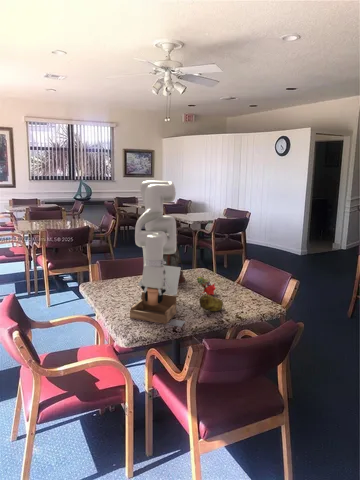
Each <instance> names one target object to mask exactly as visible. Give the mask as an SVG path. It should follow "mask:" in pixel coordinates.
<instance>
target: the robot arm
mask: <svg viewBox="0 0 360 480" xmlns="http://www.w3.org/2000/svg"><path fill="white" fill-rule="evenodd" d="M139 191H140V196H141V199H142V202H143V205H144V212H143V213H142V214H141V215H140V216H139V218H138V219H137V221H136V224H135V227H134V228H135V229H134V230H135V231H134V241H135V245H136V246H137V247H139V248H142V254H143V255H142V256H143V270H142V278H141V280H140V281H139V282H138V283H137V285H138V286H139V287H140V289H141V290H142V291H141V292H144V293H145V301H148V291H147V288H148V287H150V288H157V289H158V290H159V291H158V292H159V295H158V303H159V304H160V303H161V302H162V300H163V295H166V294H163V293H164V292H165V291H167V290H168V289H170V286H169V285H168V284H167V282H166V271H165V266H164V265H163V264H166V261H163V254H174V253H175V252H176V242H177V241H176V237H177V236H176V234H177V222H176V218H175V216H172V215H163V214H164V202H167V203H169V202H170V203H171V202H174V201H175V200H176V193H177V192H176V187H175V184H174V182H173V181H171V180H144V181H142V182H141V183H140V189H139ZM144 225H145V226H144ZM143 226H144V227H145V228H144V229H145V230H142V228H143ZM166 234H167V235H166ZM163 286H165V287H166V288H165V289H164V290H163ZM141 292H140V296H141Z"/></svg>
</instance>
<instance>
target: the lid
mask: <svg viewBox="0 0 360 480" xmlns="http://www.w3.org/2000/svg"><path fill="white" fill-rule="evenodd" d="M164 266H165V265H164ZM180 270H181V271H182V266H181V267H180V266H177V267H173V266H165V271H166V282H167V284H168V285H169V286H170V289H168V290H167V291H165V292H164V293H163V294H165V295H170V296H177V294H178V287H179V283H178V282H179V276H180ZM165 288H166V287H165V286H163V290H164V289H165Z"/></svg>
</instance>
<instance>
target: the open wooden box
mask: <svg viewBox="0 0 360 480" xmlns="http://www.w3.org/2000/svg"><path fill="white" fill-rule="evenodd" d="M140 293H141V295H140V297H141V299H139V301H137V302H136V303H134V304H133V305H132V306H131V307H130V310H129V318H130V319H135V320H141V321H146V322H153V323H157V324H165V325H166V324H167V323H169V322H170V321H171V320H172V318H173V317H174V316H175V315H176V314H177V299H178V298H177V297H178V296H177V295H169V294H165V295H163V300H162V302H161V303H160V304H159V305H154V306H153V305H149V304H148V301H145V293H144V292H142V291H141V292H140Z"/></svg>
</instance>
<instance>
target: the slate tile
mask: <svg viewBox="0 0 360 480" xmlns="http://www.w3.org/2000/svg"><path fill="white" fill-rule="evenodd" d="M185 323H186V320H180V319H172V318H171V319H170V320H169V322H168V324H167V325H168V326H174V327H179V328H182V327H183V326H184V324H185Z"/></svg>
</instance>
